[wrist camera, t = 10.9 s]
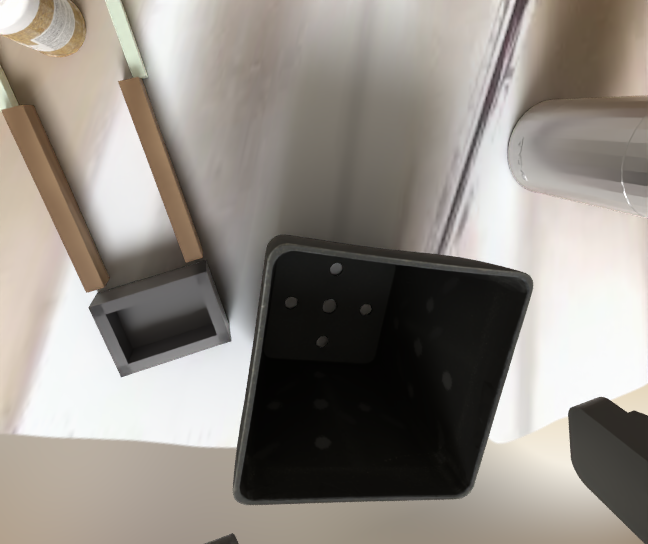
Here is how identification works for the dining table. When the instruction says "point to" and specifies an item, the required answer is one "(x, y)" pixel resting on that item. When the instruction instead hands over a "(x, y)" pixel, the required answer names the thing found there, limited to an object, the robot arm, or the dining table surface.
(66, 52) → the sprinkles bottle
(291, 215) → the dining table surface
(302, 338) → the flower pot
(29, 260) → the dining table surface
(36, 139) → the channel
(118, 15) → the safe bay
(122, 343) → the bin
